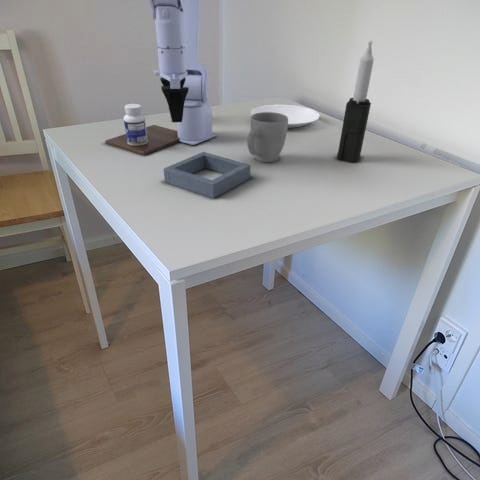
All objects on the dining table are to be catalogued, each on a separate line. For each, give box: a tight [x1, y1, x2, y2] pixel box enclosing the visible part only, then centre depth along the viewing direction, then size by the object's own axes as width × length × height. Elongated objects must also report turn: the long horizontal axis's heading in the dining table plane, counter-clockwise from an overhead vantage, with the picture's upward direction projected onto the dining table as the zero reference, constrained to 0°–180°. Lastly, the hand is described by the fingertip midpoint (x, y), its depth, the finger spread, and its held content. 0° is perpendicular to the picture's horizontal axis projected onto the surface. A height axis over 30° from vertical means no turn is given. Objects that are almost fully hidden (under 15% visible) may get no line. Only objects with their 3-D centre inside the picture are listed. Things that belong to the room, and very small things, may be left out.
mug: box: [246, 112, 289, 163], centre depth 102 cm, size 12×9×10 cm
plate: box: [250, 103, 320, 129], centre depth 130 cm, size 21×21×2 cm
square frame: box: [163, 151, 252, 199], centre depth 94 cm, size 14×14×3 cm
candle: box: [336, 40, 375, 163], centre depth 99 cm, size 5×5×25 cm
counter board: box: [104, 124, 180, 156], centre depth 114 cm, size 18×14×1 cm
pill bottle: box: [123, 103, 148, 146], centre depth 107 cm, size 5×5×9 cm
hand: (176, 116), depth 97 cm, fingers open, 7 cm apart
